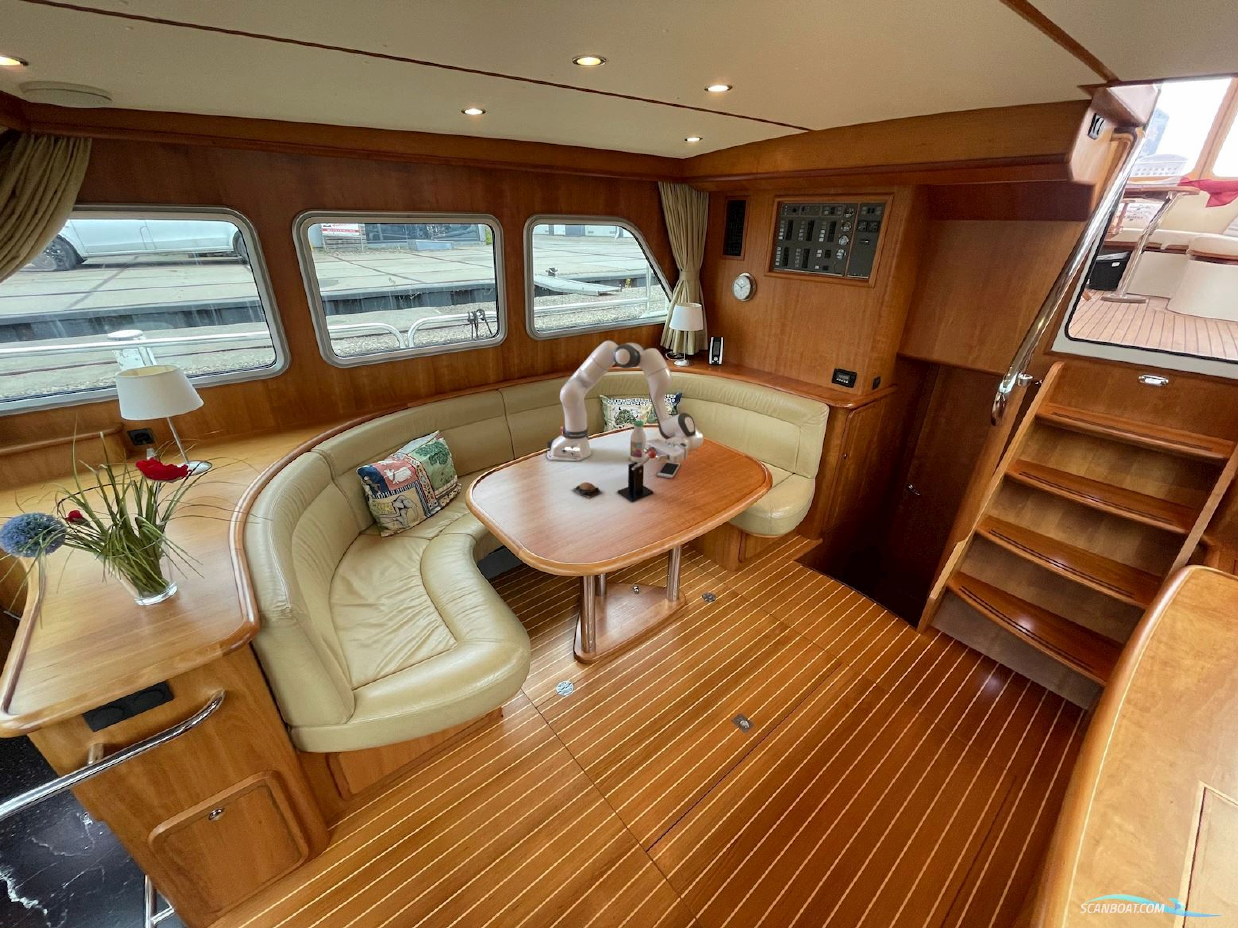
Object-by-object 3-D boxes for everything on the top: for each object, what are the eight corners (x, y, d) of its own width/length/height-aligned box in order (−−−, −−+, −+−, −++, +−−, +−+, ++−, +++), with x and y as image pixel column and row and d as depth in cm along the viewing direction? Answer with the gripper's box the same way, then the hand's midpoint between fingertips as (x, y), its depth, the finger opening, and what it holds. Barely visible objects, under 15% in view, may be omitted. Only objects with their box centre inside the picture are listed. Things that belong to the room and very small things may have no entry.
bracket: (638, 485, 216) (639, 457, 210) (653, 493, 209) (654, 465, 203) (617, 492, 210) (617, 464, 204) (631, 502, 202) (632, 473, 196)
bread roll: (571, 491, 211) (571, 483, 210) (585, 484, 217) (585, 477, 215) (588, 499, 205) (588, 491, 203) (602, 492, 210) (602, 484, 209)
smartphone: (657, 476, 224) (657, 474, 223) (666, 462, 237) (666, 460, 236) (671, 478, 221) (672, 476, 221) (680, 464, 234) (680, 463, 234)
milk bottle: (637, 454, 245) (638, 418, 236) (648, 459, 240) (649, 422, 231) (627, 459, 240) (627, 421, 231) (638, 464, 235) (639, 426, 226)
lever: (653, 453, 210) (651, 447, 208) (659, 456, 207) (656, 450, 205) (632, 472, 206) (629, 466, 204) (637, 475, 203) (634, 469, 201)
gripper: (659, 433, 220) (635, 440, 213) (690, 448, 206) (666, 456, 198) (658, 445, 223) (635, 453, 215) (689, 461, 208) (666, 469, 201)
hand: (650, 455), depth 207 cm, fingers open, 7 cm apart
